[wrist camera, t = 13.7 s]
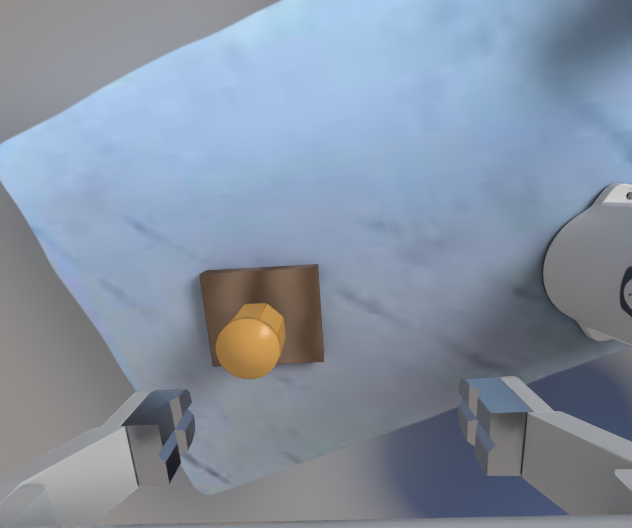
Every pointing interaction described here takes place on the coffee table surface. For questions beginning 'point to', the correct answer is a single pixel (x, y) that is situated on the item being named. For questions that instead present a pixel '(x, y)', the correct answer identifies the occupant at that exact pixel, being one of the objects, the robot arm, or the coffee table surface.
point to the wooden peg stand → (275, 290)
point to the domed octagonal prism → (251, 341)
